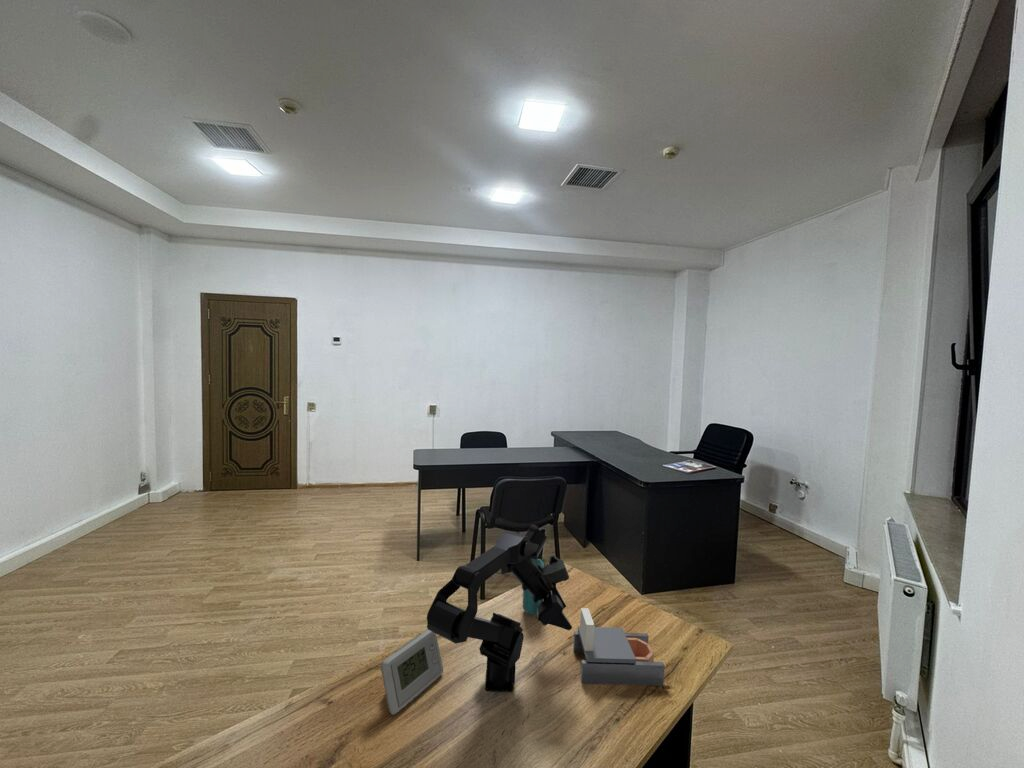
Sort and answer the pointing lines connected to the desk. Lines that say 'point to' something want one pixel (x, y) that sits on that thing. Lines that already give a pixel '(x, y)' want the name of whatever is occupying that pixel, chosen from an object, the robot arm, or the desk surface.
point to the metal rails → (620, 668)
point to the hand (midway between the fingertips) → (567, 617)
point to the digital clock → (411, 670)
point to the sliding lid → (603, 642)
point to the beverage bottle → (527, 598)
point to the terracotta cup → (641, 650)
